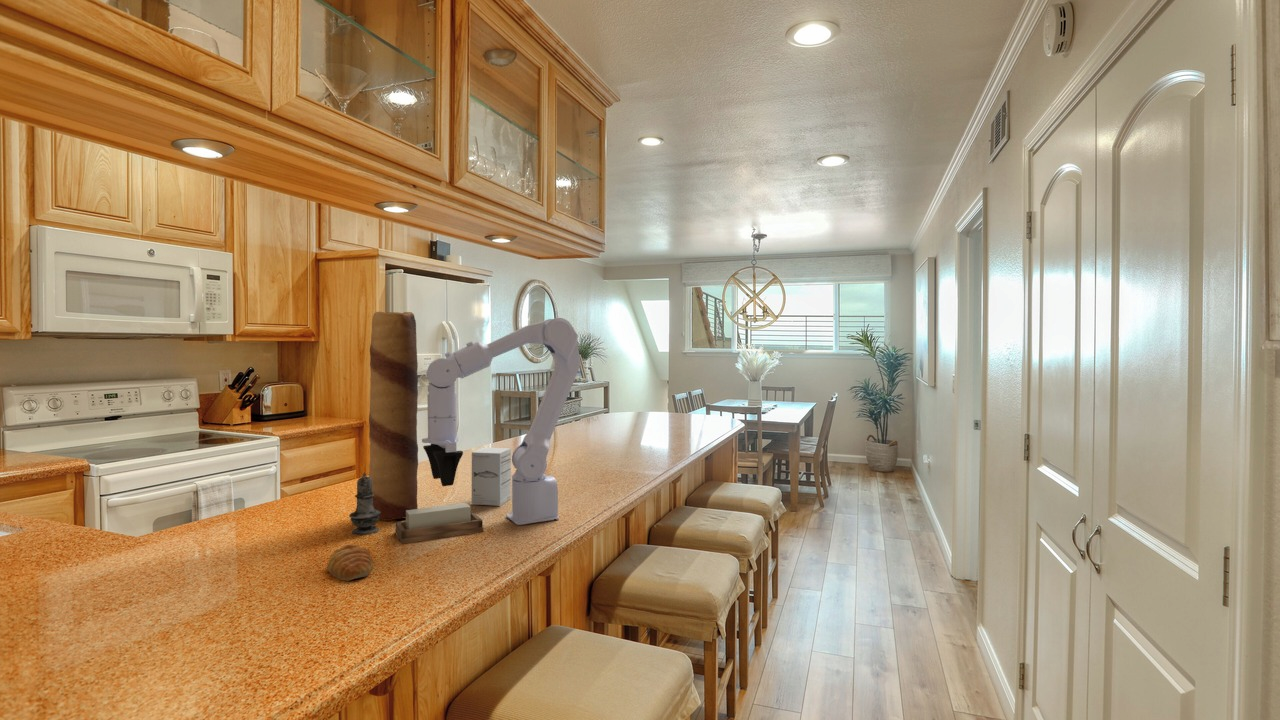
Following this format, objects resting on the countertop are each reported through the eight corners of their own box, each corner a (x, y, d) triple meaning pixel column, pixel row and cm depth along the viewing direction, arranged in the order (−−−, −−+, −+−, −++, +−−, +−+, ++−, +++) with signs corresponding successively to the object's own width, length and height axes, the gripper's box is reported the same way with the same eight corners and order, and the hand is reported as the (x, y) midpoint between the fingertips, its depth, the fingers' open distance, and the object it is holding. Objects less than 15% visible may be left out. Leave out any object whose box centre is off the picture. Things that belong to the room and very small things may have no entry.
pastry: (380, 577, 103) (380, 554, 103) (335, 587, 100) (335, 563, 99) (367, 561, 111) (366, 539, 111) (325, 569, 107) (324, 547, 107)
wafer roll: (426, 509, 144) (424, 312, 143) (409, 522, 134) (407, 310, 132) (380, 509, 144) (378, 312, 143) (360, 522, 134) (357, 310, 132)
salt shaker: (386, 527, 130) (385, 469, 130) (371, 536, 124) (370, 476, 124) (359, 526, 131) (358, 469, 130) (343, 535, 125) (342, 475, 125)
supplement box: (470, 505, 148) (470, 451, 147) (483, 497, 155) (483, 446, 155) (500, 506, 146) (500, 452, 146) (512, 498, 154) (511, 447, 153)
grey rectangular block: (466, 521, 132) (466, 502, 131) (470, 526, 128) (470, 506, 128) (406, 530, 126) (405, 510, 125) (409, 535, 123) (408, 514, 122)
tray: (472, 521, 134) (472, 511, 134) (483, 531, 128) (483, 520, 127) (395, 532, 127) (395, 521, 127) (401, 543, 120) (401, 532, 120)
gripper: (415, 414, 134) (415, 477, 135) (430, 421, 122) (431, 491, 122) (448, 412, 138) (449, 473, 138) (466, 419, 125) (467, 486, 126)
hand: (443, 481), depth 131 cm, fingers open, 7 cm apart
